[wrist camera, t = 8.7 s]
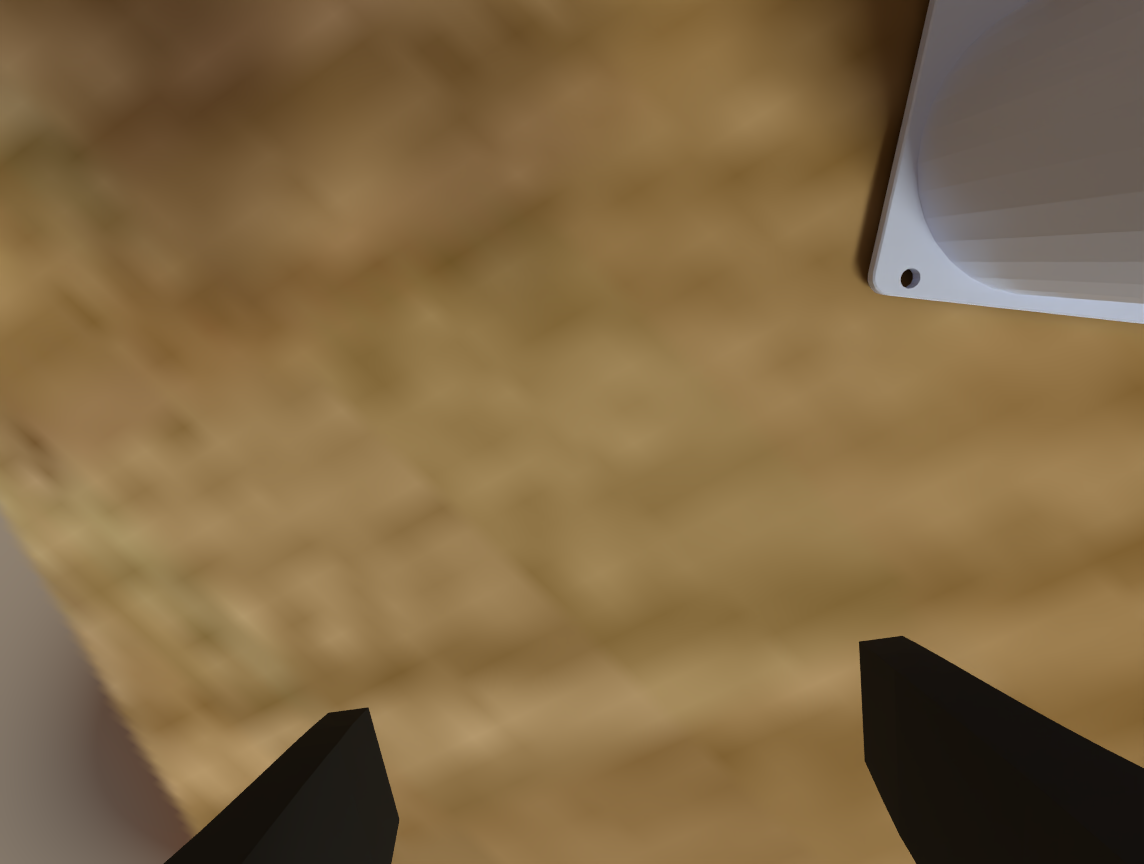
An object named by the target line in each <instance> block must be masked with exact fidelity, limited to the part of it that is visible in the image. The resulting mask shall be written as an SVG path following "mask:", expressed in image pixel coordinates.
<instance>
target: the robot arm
mask: <svg viewBox="0 0 1144 864" xmlns="http://www.w3.org/2000/svg"><path fill="white" fill-rule="evenodd" d="M907 269H909V270H911V272H912V273H913V280H912V282H911V284H910V285H908V286H907V287H903V285H902V284H901V275H902V273H903V272H904V271H906V270H907ZM868 283H869V286H870V288H871V289H872V290H873V291H874V292H875V293H878V294H881V295H890V296H899V297H908V298H917V299H926V300H935V301H944V302H953V303H962V304H971V305H980V306H989V307H998V308H1007V309H1016V310H1024V311H1033V312H1042V313H1051V314H1060V315H1069V316H1078V317H1087V318H1096V319H1105V320H1114V321H1123V322H1132V323H1141V324H1144V0H930V2H929V6H928V10H927V15H926V19H925V24H924V28H923V33H922V37H921V41H920V46H919V50H918V55H917V59H916V64H915V68H914V72H913V77H912V81H911V86H910V90H909V95H908V99H907V103H906V108H905V112H904V117H903V121H902V126H901V130H900V134H899V139H898V143H897V148H896V152H895V157H894V161H893V165H892V170H891V174H890V179H889V183H888V188H887V192H886V196H885V201H884V205H883V210H882V214H881V219H880V223H879V227H878V232H877V236H876V241H875V245H874V250H873V254H872V258H871V263H870V267H869V272H868ZM859 650H860V671H861V692H862V713H863V734H864V754H865V762H866V765H867V767H868V769H869V771H870V773H871V775H872V778H873V780H874V782H875V784H876V786H877V789H878V791H879V793H880V795H881V797H882V800H883V802H884V804H885V806H886V808H887V810H888V812H889V814H890V816H891V818H892V820H893V822H894V825H895V827H896V829H897V831H898V833H899V835H900V837H901V838H902V840H903V842H904V843H905V845H906V847H907V849H908V850H909V852H910V854H911V855H912V857H913V859H914V860H915V862H916V864H1144V768H1142V767H1140V766H1138V765H1136V764H1134V763H1132V762H1130V761H1128V760H1126V759H1124V758H1122V757H1120V756H1118V755H1116V754H1115V753H1113V752H1111V751H1109V750H1107V749H1105V748H1103V747H1101V746H1099V745H1097V744H1095V743H1093V742H1091V741H1090V740H1088V739H1086V738H1084V737H1082V736H1080V735H1078V734H1076V733H1075V732H1073V731H1071V730H1069V729H1067V728H1065V727H1063V726H1062V725H1060V724H1058V723H1056V722H1054V721H1052V720H1051V719H1049V718H1047V717H1045V716H1043V715H1042V714H1040V713H1038V712H1036V711H1034V710H1033V709H1031V708H1029V707H1027V706H1025V705H1024V704H1022V703H1020V702H1018V701H1017V700H1015V699H1013V698H1011V697H1010V696H1008V695H1006V694H1004V693H1003V692H1001V691H999V690H997V689H996V688H994V687H992V686H990V685H989V684H987V683H985V682H983V681H982V680H980V679H978V678H976V677H975V676H973V675H971V674H970V673H968V672H966V671H964V670H963V669H961V668H959V667H957V666H956V665H954V664H952V663H950V662H949V661H947V660H945V659H944V658H942V657H940V656H938V655H937V654H935V653H933V652H931V651H929V650H928V649H926V648H924V647H922V646H920V645H919V644H917V643H915V642H913V641H911V640H909V639H907V638H905V637H903V636H898V637H891V638H883V639H876V640H868V641H861V642H859ZM398 824H399V816H398V813H397V809H396V806H395V802H394V798H393V795H392V791H391V787H390V784H389V780H388V777H387V773H386V769H385V766H384V762H383V759H382V755H381V751H380V748H379V744H378V741H377V737H376V733H375V730H374V726H373V723H372V719H371V715H370V712H369V708H361V709H354V710H346V711H339V712H331V713H328V714H327V715H325V716H324V717H323V718H322V719H321V720H319V721H318V722H317V723H316V724H315V725H314V726H312V727H311V728H310V729H309V730H308V731H307V732H306V733H305V734H304V735H303V736H301V737H300V738H299V739H298V740H297V741H296V742H295V743H294V744H293V745H292V746H291V747H290V748H289V749H287V750H286V751H285V752H284V753H283V754H282V755H281V756H280V757H279V758H278V759H277V760H276V761H275V762H274V763H273V764H272V765H271V766H270V767H268V768H267V769H266V770H265V771H264V772H263V773H262V774H261V775H260V776H259V777H258V778H257V779H256V780H255V781H254V782H253V783H252V784H250V785H249V786H248V787H247V788H246V789H245V790H244V791H243V792H242V793H241V794H240V795H239V796H238V797H237V798H235V799H234V800H233V801H232V802H231V803H230V804H229V805H228V806H227V807H226V808H225V809H224V810H223V811H222V812H221V813H219V814H218V815H217V816H216V817H215V818H214V819H213V820H212V821H211V822H210V823H209V824H208V825H207V826H206V827H204V828H203V829H202V830H201V831H200V832H199V833H198V834H197V835H196V836H194V837H193V838H192V839H191V840H190V841H189V842H188V843H187V844H185V845H184V846H183V847H182V848H181V849H180V850H179V851H178V852H176V853H175V854H174V855H173V856H172V857H171V858H169V859H168V860H167V861H166V862H165V863H164V864H391V862H392V857H393V851H394V846H395V840H396V835H397V830H398Z"/></svg>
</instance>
